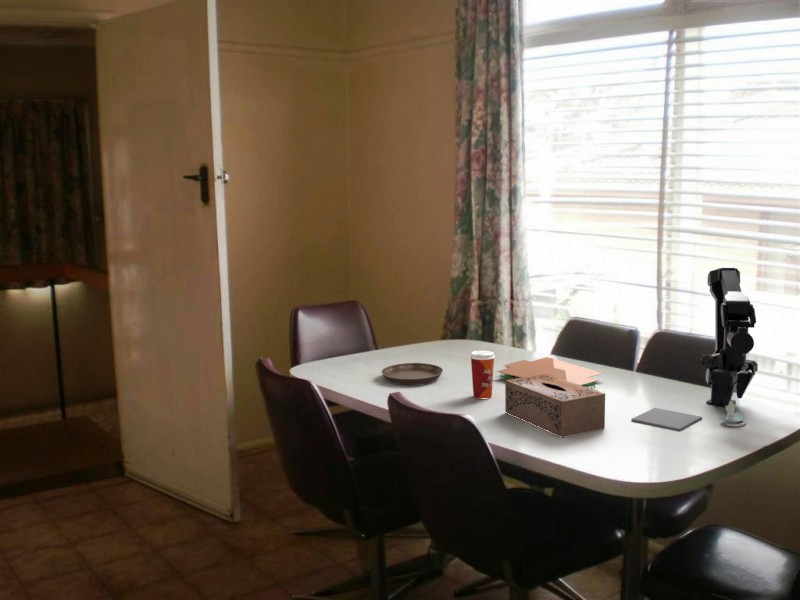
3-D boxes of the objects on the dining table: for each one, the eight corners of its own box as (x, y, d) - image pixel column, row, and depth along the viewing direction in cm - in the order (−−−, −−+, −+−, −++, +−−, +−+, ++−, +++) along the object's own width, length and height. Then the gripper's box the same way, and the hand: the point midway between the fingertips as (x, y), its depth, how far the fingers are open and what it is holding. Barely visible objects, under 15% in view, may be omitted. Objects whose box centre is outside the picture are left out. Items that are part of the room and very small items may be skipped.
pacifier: (751, 425, 231) (732, 419, 236) (752, 403, 229) (733, 397, 234) (733, 429, 227) (714, 423, 232) (735, 407, 226) (716, 401, 231)
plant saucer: (421, 390, 272) (421, 380, 272) (369, 382, 284) (369, 372, 283) (454, 376, 289) (454, 367, 289) (403, 369, 300) (403, 360, 300)
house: (537, 368, 299) (537, 345, 298) (614, 385, 274) (614, 360, 273) (491, 379, 285) (491, 355, 284) (567, 398, 260) (568, 373, 259)
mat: (654, 409, 245) (654, 407, 245) (701, 418, 236) (701, 416, 236) (631, 420, 235) (631, 418, 235) (679, 430, 226) (679, 428, 226)
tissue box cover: (505, 413, 245) (505, 380, 244) (545, 406, 252) (545, 373, 250) (562, 438, 223) (562, 401, 221) (604, 429, 230) (605, 393, 228)
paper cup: (490, 401, 257) (490, 356, 255) (466, 398, 261) (466, 354, 258) (498, 394, 264) (498, 350, 262) (475, 392, 268) (475, 349, 265)
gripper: (719, 336, 240) (717, 389, 243) (691, 347, 227) (689, 404, 229) (759, 341, 233) (757, 396, 235) (732, 353, 219) (730, 411, 222)
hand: (732, 401), depth 231 cm, fingers open, 9 cm apart
